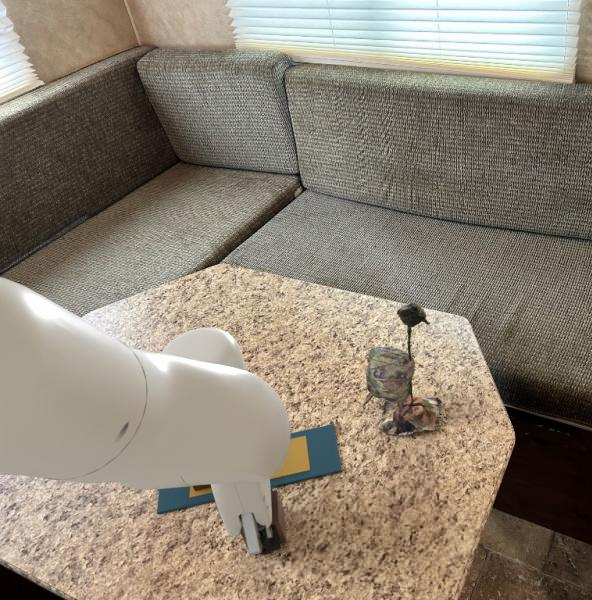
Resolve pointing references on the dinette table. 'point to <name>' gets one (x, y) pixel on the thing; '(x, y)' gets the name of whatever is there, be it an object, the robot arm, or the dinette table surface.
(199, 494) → the word mat
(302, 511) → the dinette table surface
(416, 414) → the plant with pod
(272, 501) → the tile
